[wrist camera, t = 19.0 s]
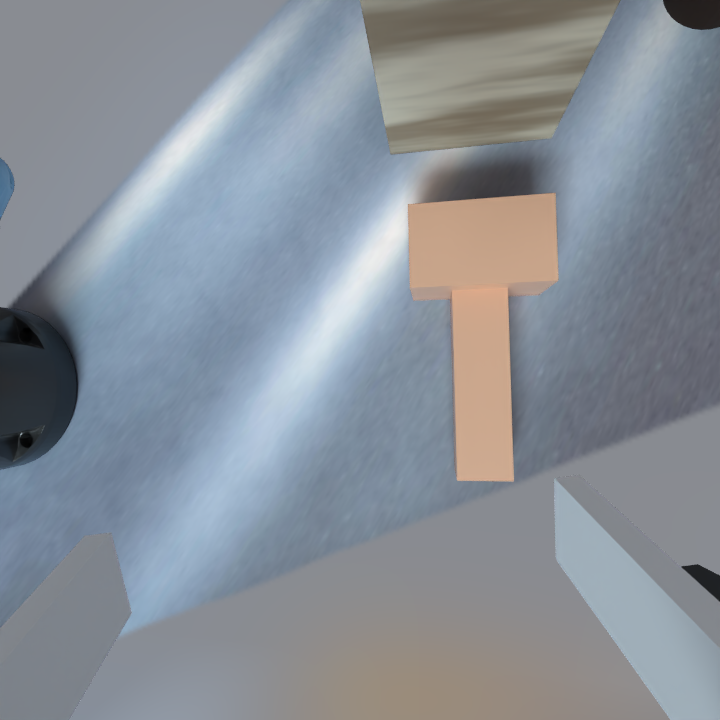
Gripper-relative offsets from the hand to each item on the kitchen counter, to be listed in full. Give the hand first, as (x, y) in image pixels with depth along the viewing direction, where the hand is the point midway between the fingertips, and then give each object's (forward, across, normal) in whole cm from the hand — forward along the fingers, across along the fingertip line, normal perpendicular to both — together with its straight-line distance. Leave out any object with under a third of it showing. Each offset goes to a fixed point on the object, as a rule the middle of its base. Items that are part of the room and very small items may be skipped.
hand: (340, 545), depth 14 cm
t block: (+25, +11, +1) cm, 27 cm away
